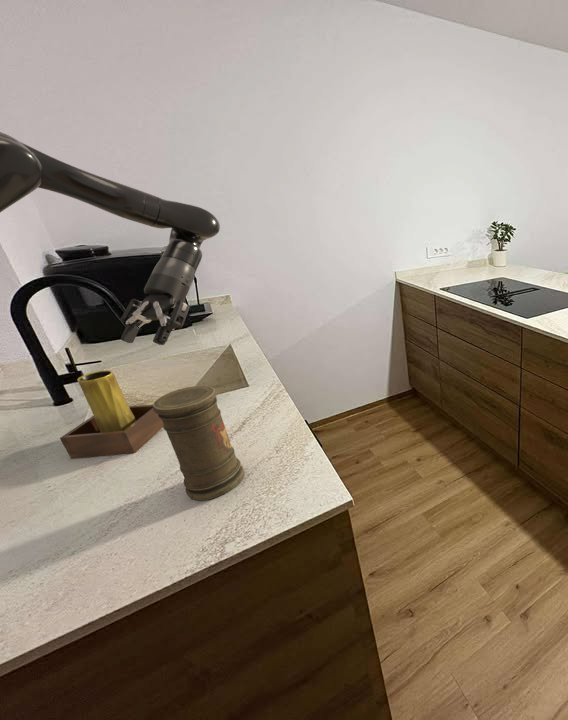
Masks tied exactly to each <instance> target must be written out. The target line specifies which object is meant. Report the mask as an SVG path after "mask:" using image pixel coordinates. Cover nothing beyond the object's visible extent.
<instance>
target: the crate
mask: <svg viewBox="0 0 568 720" xmlns="http://www.w3.org/2000/svg"><path fill="white" fill-rule="evenodd" d="M153 404H154V403H152V404H141V405H128V406H129V408H130V410H131V412H132V413H133V415H134V417H135V419H136V422H134V423H133V424H132V425H131V426H129V427H128V428H127V429H125V430H124V431H116V432H104V433H101V432H100V430H99V427H98V425H97V423H96V420H95V418H94V415H92V416H91V417H89V418H88V419H86V420H84V421H83V422H81V423H79V425H77V426H75V427H74V428H73V429H71V430H69V431H68V432H67V433H65V434H64V435H62V436H60V437H59V440H60V441H61V443H62V445H63V448H64V449H65V450H66V452H67V454H68V456H69V458H70V459H81V458H92V457H103V456H115V455H126V454H135V453H136V452H138V451H139V450H140V449H141V448H142V447H144V445H145V444H146V443H147V442H149V441H150V440H151V439H152V438H153V437H154V436H156V435H157V434H158V433H159V432H160V431H161V430H162V429H163V428H164V424H163V421H162V420H161V418H159V417H158V414H157V413H155V412H154V410H153ZM162 427H163V428H162ZM161 428H162V429H161ZM160 429H161V430H160ZM159 430H160V431H159ZM158 431H159V432H158Z"/></svg>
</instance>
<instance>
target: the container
mask: <svg viewBox="0 0 568 720" xmlns="http://www.w3.org/2000/svg"><path fill="white" fill-rule="evenodd" d="M217 395H218V392H217V390H216V388H214V387H212V386H210V385H193V386H186V387H182V388H179V389H176V390H173V391H170V392H168V393H165V394H163V395H161V396H159V397H158V398H157V399H156V400H155V401H154V402H153V403H152V404H153V410H154V412H155V413H157V414H158V417H159V418H161V420H162V421H163V424H164V427H163V430H164V432H166V435H167V437H168V439H169V441H170V444H171V447H172V449H173V451H174V453H175V457H176V458H177V462H178V464H179V470H180V473H182V476H183V485H184V487H185V492H186V495H187V496H188V497H189V498H190V499H192V500H196V501H207V500H211V499H215V498H218V497H220V496H222V495H225V494H227V493H228V492H230V491H231V490H233V489H234V488H236V487H237V486H238V485H239V484H240V483H241V482H242V481H243V478H244V476H245V469H244V466H243V465H242V463H241V460H240V459H239V458H237V456H236V453H235V449H234V447H233V445H232V443H231V440H230V438H229V434H228V431H227V428H226V426H225V425H226V424H225V422H224V420H223V416H222V414H221V413H222V411H221V409H220V408H219V407H218V398H217Z"/></svg>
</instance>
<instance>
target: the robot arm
mask: <svg viewBox="0 0 568 720" xmlns="http://www.w3.org/2000/svg"><path fill="white" fill-rule="evenodd" d="M36 189H42V190H46V191H49V192H53V193H57V194H60V195H63V196H66V197H68V198H69V197H70V198H73V199H75V200H77V201H80V202H83V203H86V204H88V205H89V206H93V207H95V208H97V209H100V210H103V211H104V212H106V213H109V214H111V215H114V216H117V217H120V218H122V219H126V220H129V221H132V222H135V223H138V224H142V225H145V226H149V227H151V228H155V229H164V230H165V229H170V234H169V238H168V244H167V246H166V247H165V249H164V251H163V253H162V255H161V256H160V259H159V261H158V262H157V263H156V265H155V266H154V268H153V270H152V272H151V273H150V276H149V278H148V280H147V282H146V283H145V285H144V288H143V292H144V294H145V298H144V299H143V300H142V301H141V300H138V299H136V298H132V299H131V300H130V301H129V303H128V305H127V307H126V308H125V309H124V312H123V314H122V315H121V317H120V319H119V321H120V322H122V323H123V324H125V328H124V330H123V332H122V334H121V336H120V341H122V342H124V343H127V344H133V343H134V341H135V339H136V337H137V335H138V333H139V331H140V328H141V327H143V325H146V324H150V323H151V322H152V321H159V324H160V326H158V328H157V331H156V333H155V335H154V337H153V339H152V342H153V343H155V344H157V345H159V346H164V345H165V344H167V341H168V339H169V338H170V334H171V333H172V332H173V331H175V329H179V330H180V329H183V327H184V324H185V322H186V319H187V316H188V313H189V311H190V308H191V306H190V305H189V304H187V303H186V302H185V300H186V298H187V296H188V294H189V292H190V289H191V287H192V284H193V283H194V280H195V276H196V272H197V270H198V268H199V266H200V263H201V262H202V259H203V252H202V249H200V248H201V246H202V244H203V242H204V241H206V240H209V239H211V238H213V237H216V236H217V234H218V233H219V232H220V230H221V225H220V222H219V220H218V218H217V217H216V216H215V215H214V214H213V213H212V212H210V211H209V210H208V209H204V208H203V207H199V206H196V205H193V204H187V203H183V202H178V201H173V200H168V199H165V198H162V197H159V196H156V195H153V194H150V193H148V192H146V191H142V190H140V189H137V188H135V187H132V186H128V185H126V184H123V183H120V182H117V181H114V180H111V179H108V178H106V177H102V176H99V175H97V174H94V173H92V172H89V171H86V170H84V169H81V168H78V167H77V166H74V165H72V164H69V163H66V162H64V161H62V160H59V159H57V158H54V157H53V156H50V155H48V154H46V153H44V152H42V151H40V150H38V149H36V148H34V147H32V146H29V145H27V144H25V143H23V142H21V141H19V140H18V139H16V138H14V137H13V136H11V135H9V134H7V133H5V132H1V131H0V213H2V212H4V211H5V210H6V209H8V208H10V207H11V206H13V205H14V204H16V203H17V202H19V201H20V200H23V198H25V197H26V196H28V195H30V194H31V193H33V192H34V191H36ZM130 316H131V317H130ZM177 319H178V320H177ZM138 320H139V321H138ZM136 324H137V326H138V327H139V328H138V327H137V326H136Z"/></svg>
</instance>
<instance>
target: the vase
mask: <svg viewBox="0 0 568 720" xmlns="http://www.w3.org/2000/svg"><path fill="white" fill-rule="evenodd" d="M77 383H78V385H79V386H80V388H81V391H82V393H83V396H84V397H85V399H86V402H87V404H88V407H89V408H90V410H91V412H92V416H94V418H95V420H96V423H97V425H98V427H99V430H100V432H101V433H104V432H116V431H124V430H125V429H127V428H128V427H129V426H131V425H132V424H133V423H134V422H136V419H135V417H134V415H133V413H132V412H131V410H130V408H129V406H130V405H128V402H127V401H126V399H125V396H124V394H123V392H122V388H121V387H120V385H119V382H118V380H117V378H116V375H115V373H114V371H113V370H108V369H107V370H106V369H105V370H104V369H103V370H97V371H92V372H89V373H85V374H83V375H80V376H79V377H78V378H77Z"/></svg>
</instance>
